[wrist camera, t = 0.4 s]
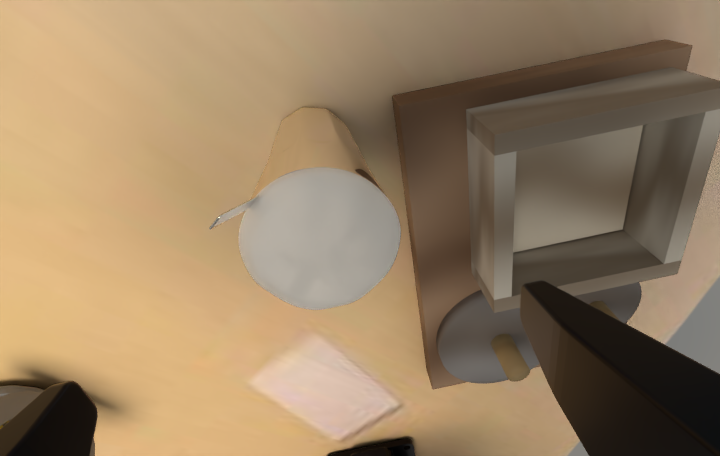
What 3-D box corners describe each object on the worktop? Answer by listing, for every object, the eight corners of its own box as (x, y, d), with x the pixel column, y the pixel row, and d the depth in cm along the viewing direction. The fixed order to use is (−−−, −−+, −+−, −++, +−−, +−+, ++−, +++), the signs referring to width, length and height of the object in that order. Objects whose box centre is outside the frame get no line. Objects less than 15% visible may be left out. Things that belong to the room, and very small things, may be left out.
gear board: (605, 331, 28) (653, 389, 24) (426, 370, 28) (446, 434, 24) (665, 39, 19) (760, 60, 15) (392, 95, 18) (416, 131, 15)
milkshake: (287, 51, 17) (278, 143, 9) (384, 135, 19) (452, 272, 11) (222, 138, 18) (159, 288, 10) (320, 205, 21) (335, 374, 12)
